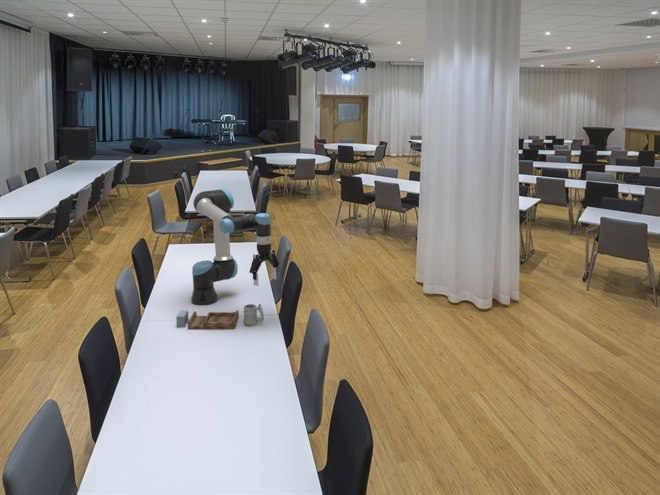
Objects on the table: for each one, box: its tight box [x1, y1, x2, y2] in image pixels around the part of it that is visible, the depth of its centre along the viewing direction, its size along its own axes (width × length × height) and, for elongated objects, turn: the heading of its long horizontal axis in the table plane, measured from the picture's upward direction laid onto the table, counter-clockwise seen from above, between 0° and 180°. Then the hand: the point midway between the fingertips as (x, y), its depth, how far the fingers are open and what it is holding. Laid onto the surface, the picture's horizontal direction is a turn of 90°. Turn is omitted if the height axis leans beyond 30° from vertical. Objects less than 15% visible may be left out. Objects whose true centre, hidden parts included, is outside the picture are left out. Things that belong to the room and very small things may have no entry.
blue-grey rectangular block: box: [175, 309, 190, 328], centre depth 290 cm, size 9×4×6 cm, turn 1°
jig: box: [187, 310, 240, 330], centre depth 290 cm, size 24×15×4 cm, turn 91°
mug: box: [242, 303, 265, 327], centre depth 289 cm, size 8×12×12 cm, turn 69°
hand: (265, 282), depth 291 cm, fingers open, 13 cm apart
